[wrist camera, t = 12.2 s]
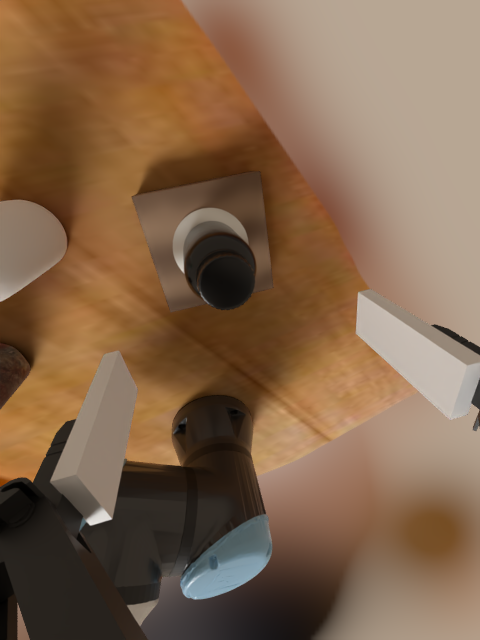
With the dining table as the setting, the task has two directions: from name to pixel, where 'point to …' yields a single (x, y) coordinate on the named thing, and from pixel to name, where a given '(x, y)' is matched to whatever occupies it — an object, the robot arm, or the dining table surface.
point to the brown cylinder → (11, 371)
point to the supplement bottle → (219, 265)
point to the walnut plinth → (194, 208)
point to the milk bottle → (27, 244)
